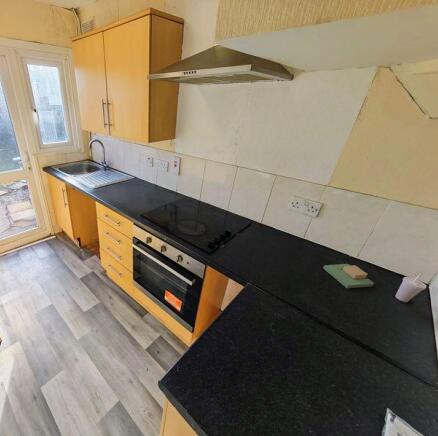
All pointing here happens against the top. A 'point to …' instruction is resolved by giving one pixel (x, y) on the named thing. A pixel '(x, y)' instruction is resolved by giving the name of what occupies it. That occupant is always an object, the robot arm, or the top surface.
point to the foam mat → (346, 277)
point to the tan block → (354, 272)
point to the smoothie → (409, 288)
